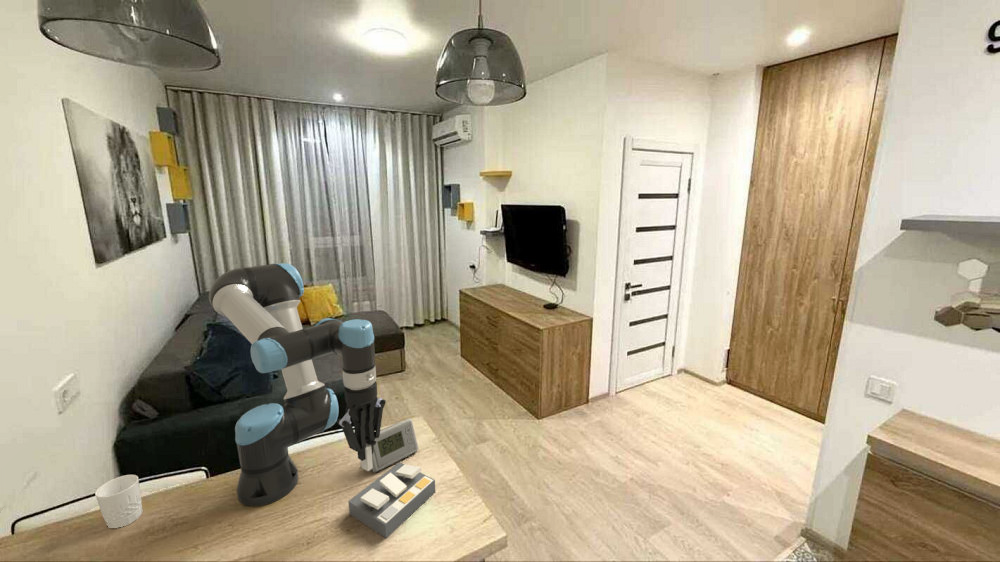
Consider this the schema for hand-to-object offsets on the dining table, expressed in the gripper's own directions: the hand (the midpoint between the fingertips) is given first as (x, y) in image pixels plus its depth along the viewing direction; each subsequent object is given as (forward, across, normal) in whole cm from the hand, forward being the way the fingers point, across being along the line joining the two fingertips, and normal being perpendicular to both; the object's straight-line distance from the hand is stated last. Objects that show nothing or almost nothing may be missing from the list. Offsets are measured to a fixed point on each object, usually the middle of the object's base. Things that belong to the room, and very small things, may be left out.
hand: (366, 467), depth 99 cm
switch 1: (+9, 0, -2) cm, 9 cm away
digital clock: (+14, +19, +11) cm, 26 cm away
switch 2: (+9, +6, -2) cm, 11 cm away
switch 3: (+9, +12, -2) cm, 15 cm away
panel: (+14, +6, -2) cm, 15 cm away
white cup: (+15, -35, +53) cm, 65 cm away
